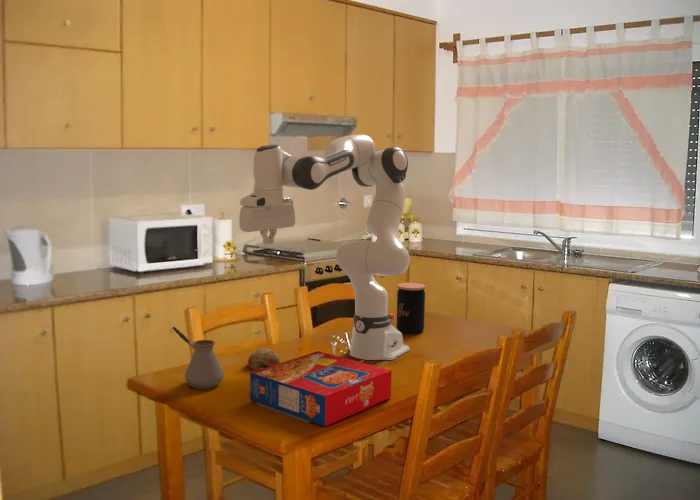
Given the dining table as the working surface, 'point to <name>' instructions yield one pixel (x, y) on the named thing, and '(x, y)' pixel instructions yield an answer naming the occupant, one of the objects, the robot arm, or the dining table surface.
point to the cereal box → (320, 387)
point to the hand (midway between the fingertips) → (268, 243)
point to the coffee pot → (202, 364)
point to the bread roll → (263, 358)
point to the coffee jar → (410, 308)
